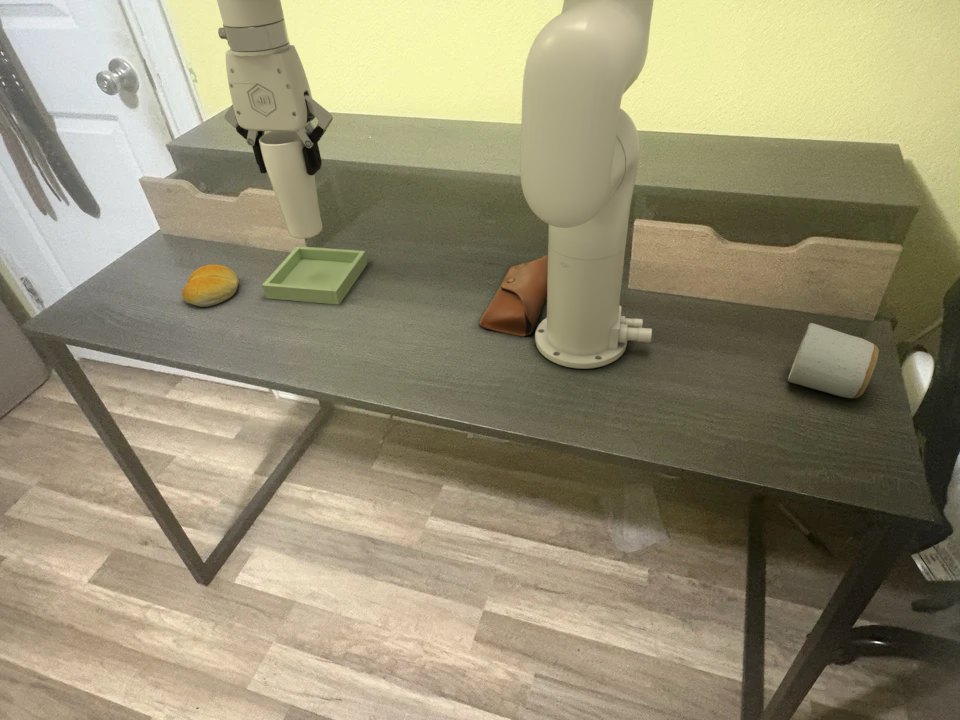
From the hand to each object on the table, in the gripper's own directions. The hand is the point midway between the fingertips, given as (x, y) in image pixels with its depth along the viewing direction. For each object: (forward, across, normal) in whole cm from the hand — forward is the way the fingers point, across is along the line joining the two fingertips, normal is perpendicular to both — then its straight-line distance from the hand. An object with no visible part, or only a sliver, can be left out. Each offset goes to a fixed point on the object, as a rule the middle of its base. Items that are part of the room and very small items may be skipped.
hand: (291, 169), depth 93 cm
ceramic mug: (+19, +75, -13) cm, 78 cm away
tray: (+19, 0, 0) cm, 19 cm away
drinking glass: (+10, 0, 0) cm, 10 cm away
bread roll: (+19, -16, -6) cm, 26 cm away
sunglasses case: (+19, +34, -1) cm, 39 cm away
